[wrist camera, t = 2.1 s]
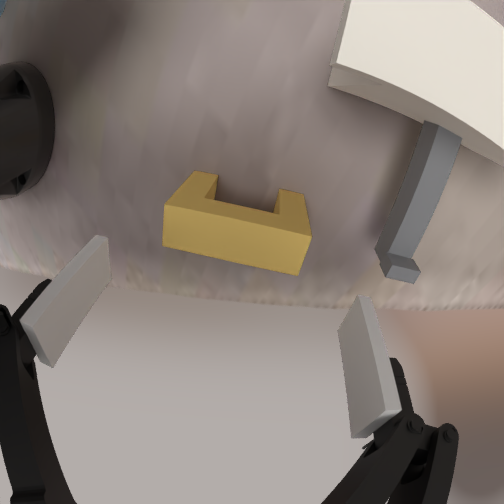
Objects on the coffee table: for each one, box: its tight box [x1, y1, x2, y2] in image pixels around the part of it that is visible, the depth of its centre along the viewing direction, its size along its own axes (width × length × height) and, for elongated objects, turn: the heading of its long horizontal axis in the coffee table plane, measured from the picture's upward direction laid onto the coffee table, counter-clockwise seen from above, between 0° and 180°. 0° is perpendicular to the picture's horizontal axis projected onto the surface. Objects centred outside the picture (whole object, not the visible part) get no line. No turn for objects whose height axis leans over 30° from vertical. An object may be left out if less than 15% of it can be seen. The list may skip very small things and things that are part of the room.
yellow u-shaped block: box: [162, 171, 312, 276], centre depth 20 cm, size 9×3×7 cm, turn 78°
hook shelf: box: [327, 0, 504, 284], centre depth 14 cm, size 18×15×13 cm
